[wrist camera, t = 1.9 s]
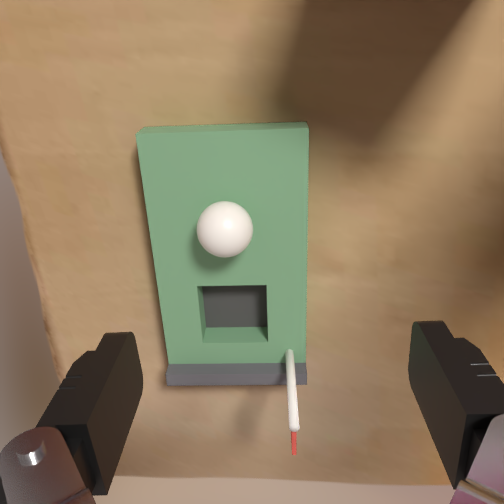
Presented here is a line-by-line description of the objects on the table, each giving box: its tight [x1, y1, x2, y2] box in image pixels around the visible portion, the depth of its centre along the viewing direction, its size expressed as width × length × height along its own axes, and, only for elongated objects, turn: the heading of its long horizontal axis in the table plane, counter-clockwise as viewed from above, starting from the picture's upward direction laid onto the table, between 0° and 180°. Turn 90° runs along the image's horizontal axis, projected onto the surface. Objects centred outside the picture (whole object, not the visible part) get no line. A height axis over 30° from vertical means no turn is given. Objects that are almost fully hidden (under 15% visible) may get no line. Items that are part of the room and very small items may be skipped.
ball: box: [197, 201, 253, 258], centre depth 33 cm, size 4×4×4 cm
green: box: [136, 122, 309, 455], centre depth 34 cm, size 22×12×11 cm, turn 2°
